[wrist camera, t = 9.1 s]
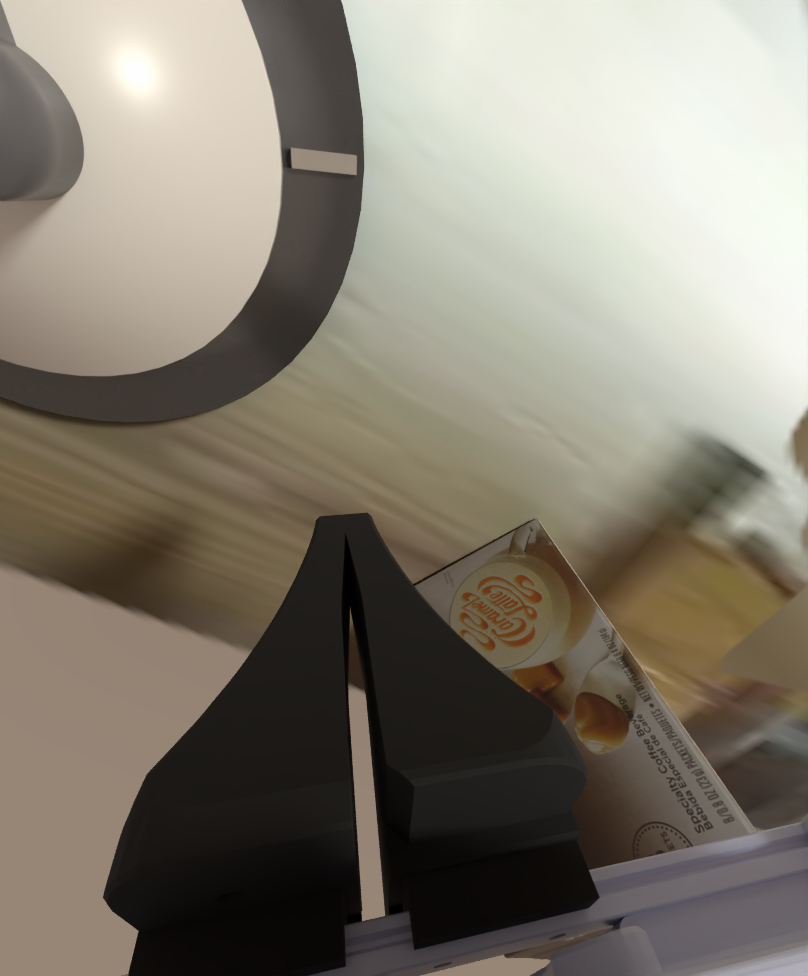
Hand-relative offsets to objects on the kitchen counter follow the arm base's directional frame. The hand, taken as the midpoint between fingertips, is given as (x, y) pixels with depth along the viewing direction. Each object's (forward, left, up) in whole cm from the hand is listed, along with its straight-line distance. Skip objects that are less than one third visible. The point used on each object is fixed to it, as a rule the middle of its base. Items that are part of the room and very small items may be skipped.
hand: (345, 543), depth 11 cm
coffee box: (+10, -12, -10) cm, 18 cm away
